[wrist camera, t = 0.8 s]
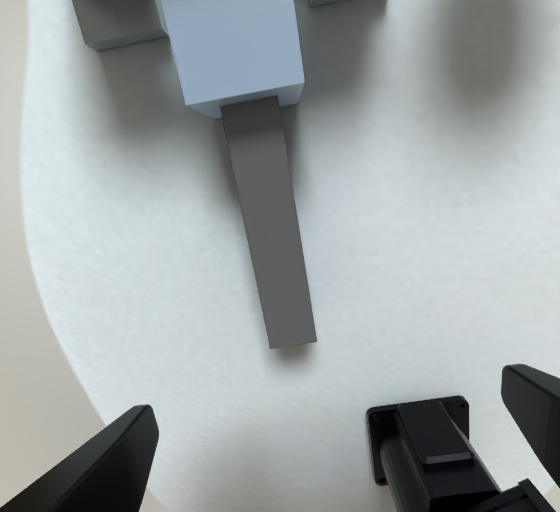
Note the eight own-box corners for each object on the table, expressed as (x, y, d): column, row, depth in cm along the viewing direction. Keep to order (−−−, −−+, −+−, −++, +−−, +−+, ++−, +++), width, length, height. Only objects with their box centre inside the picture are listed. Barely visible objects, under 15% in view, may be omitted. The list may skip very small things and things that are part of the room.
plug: (327, 308, 20) (342, 356, 15) (256, 319, 20) (248, 370, 15) (281, -14, 15) (280, -93, 10) (188, 6, 15) (146, -63, 10)
